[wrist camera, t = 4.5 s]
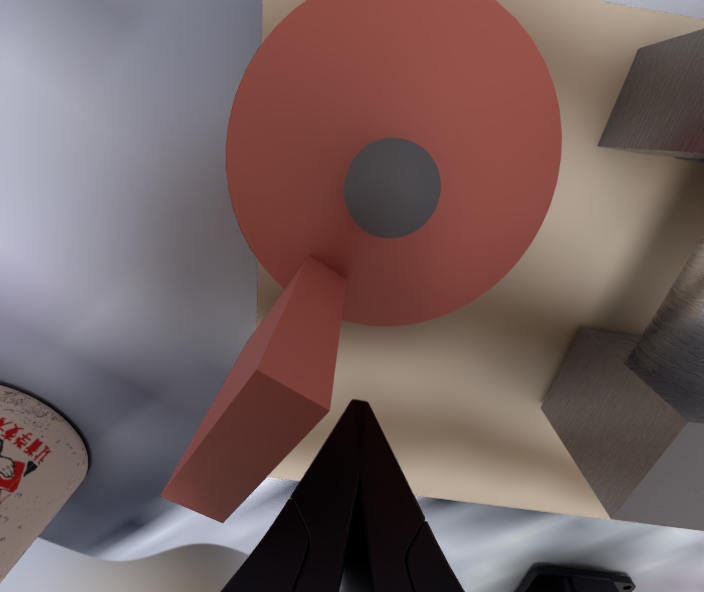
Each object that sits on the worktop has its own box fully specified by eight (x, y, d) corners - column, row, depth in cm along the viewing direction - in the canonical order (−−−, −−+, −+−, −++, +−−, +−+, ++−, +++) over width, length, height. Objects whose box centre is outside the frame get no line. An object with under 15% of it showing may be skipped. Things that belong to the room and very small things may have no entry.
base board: (619, 500, 19) (634, 523, 18) (260, 454, 18) (253, 475, 17) (948, 79, 10) (1019, 73, 9) (275, -35, 9) (263, -57, 8)
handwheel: (355, -112, 8) (318, -1028, 2) (607, 144, 10) (1003, 166, 4) (162, 268, 12) (-45, 408, 6) (366, 390, 14) (367, 585, 8)
